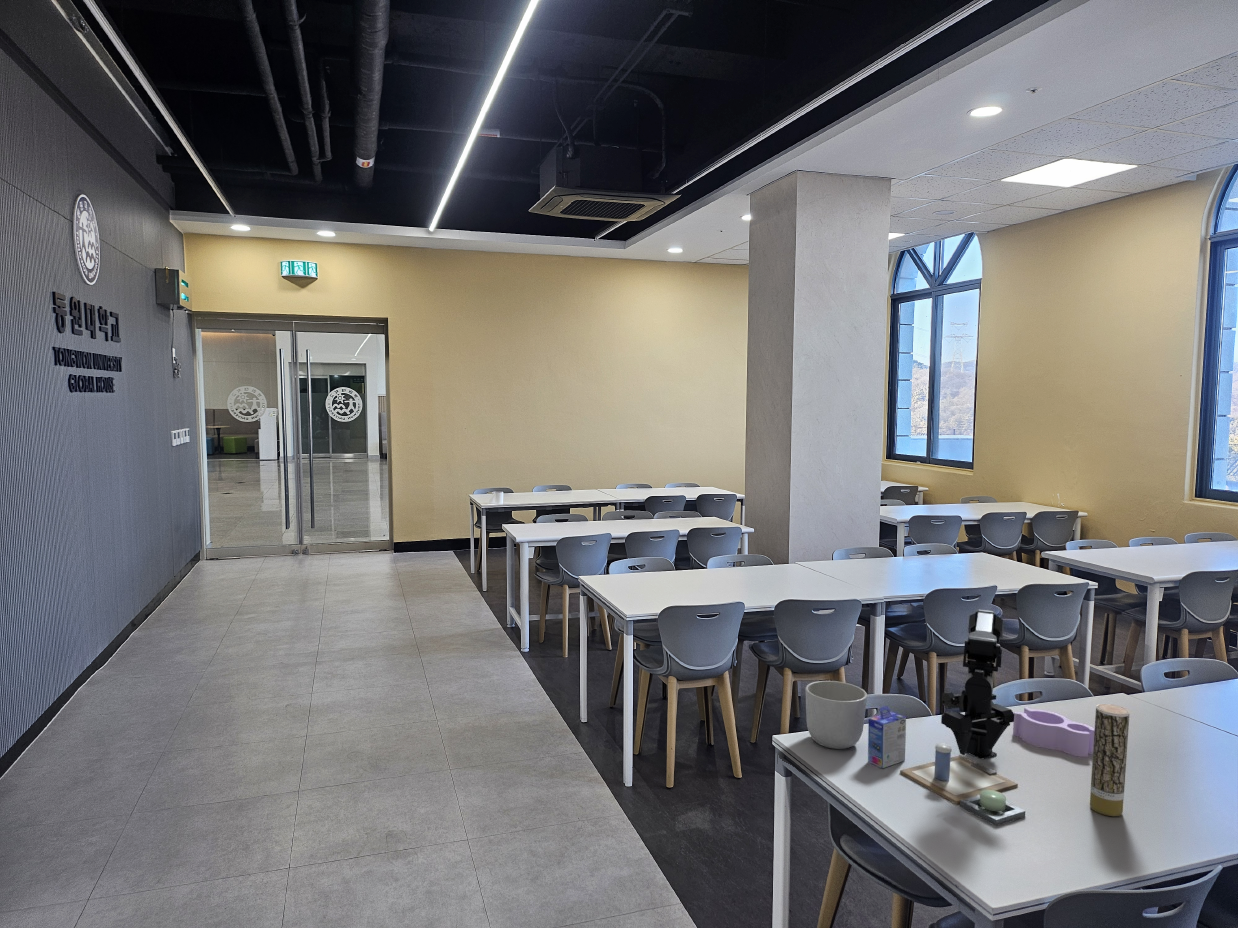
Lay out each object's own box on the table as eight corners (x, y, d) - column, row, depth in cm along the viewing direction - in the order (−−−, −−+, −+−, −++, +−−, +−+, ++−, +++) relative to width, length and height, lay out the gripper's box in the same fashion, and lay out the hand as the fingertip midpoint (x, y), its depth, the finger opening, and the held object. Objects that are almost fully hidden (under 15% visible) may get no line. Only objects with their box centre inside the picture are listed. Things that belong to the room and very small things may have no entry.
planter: (813, 726, 238) (815, 676, 237) (871, 739, 230) (873, 687, 229) (795, 746, 224) (797, 693, 223) (856, 760, 215) (858, 706, 214)
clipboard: (959, 758, 218) (959, 753, 218) (1017, 786, 202) (1017, 781, 202) (900, 772, 209) (900, 767, 208) (956, 804, 192) (956, 798, 192)
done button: (990, 797, 193) (991, 787, 193) (1010, 808, 188) (1011, 798, 188) (974, 802, 190) (974, 792, 190) (994, 813, 185) (995, 802, 185)
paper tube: (1122, 820, 186) (1129, 716, 185) (1089, 812, 190) (1095, 710, 188) (1122, 808, 192) (1129, 707, 190) (1089, 800, 196) (1096, 701, 194)
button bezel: (988, 797, 196) (988, 791, 196) (1025, 816, 187) (1025, 810, 187) (960, 806, 192) (960, 800, 191) (996, 825, 183) (996, 819, 182)
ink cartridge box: (889, 753, 221) (891, 702, 220) (906, 760, 216) (908, 708, 215) (865, 761, 215) (868, 709, 214) (882, 769, 211) (885, 715, 210)
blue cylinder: (941, 773, 206) (942, 741, 206) (953, 780, 203) (954, 747, 202) (930, 776, 205) (932, 744, 204) (942, 783, 201) (944, 750, 201)
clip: (1099, 750, 226) (1101, 726, 226) (1081, 761, 218) (1082, 737, 218) (1027, 727, 242) (1029, 704, 241) (1008, 737, 234) (1009, 714, 233)
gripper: (979, 674, 203) (975, 734, 204) (925, 682, 195) (922, 744, 196) (1017, 688, 193) (1013, 750, 194) (962, 697, 185) (958, 762, 186)
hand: (976, 751), depth 193 cm, fingers open, 9 cm apart
